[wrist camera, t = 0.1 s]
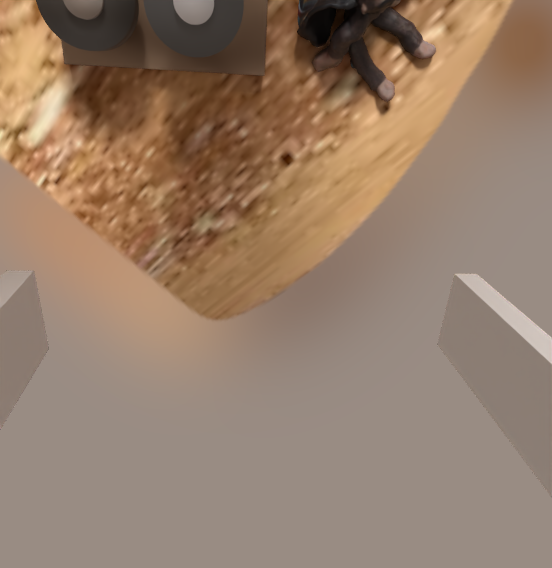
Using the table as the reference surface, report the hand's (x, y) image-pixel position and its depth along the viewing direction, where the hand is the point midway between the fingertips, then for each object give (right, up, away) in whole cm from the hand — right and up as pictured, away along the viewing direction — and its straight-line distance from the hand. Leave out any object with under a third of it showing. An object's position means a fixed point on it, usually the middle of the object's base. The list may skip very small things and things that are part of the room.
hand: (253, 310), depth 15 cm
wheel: (-4, +19, +15) cm, 25 cm away
